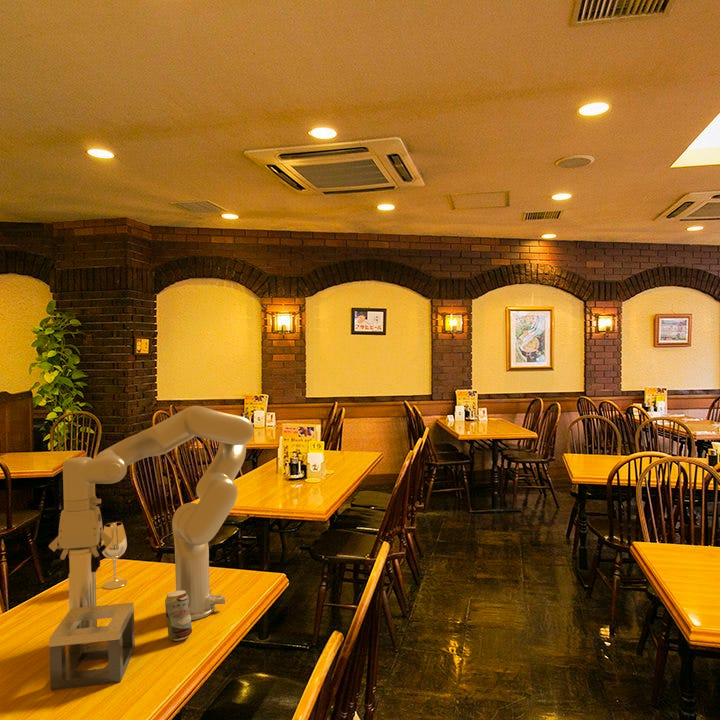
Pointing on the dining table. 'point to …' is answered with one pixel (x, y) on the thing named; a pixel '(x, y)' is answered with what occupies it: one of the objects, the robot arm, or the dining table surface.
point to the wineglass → (115, 550)
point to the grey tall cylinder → (82, 582)
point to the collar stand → (74, 636)
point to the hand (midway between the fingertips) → (81, 570)
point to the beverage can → (178, 615)
